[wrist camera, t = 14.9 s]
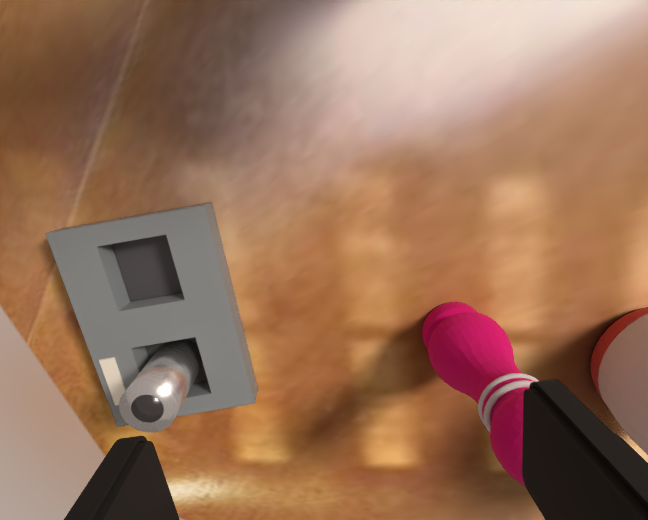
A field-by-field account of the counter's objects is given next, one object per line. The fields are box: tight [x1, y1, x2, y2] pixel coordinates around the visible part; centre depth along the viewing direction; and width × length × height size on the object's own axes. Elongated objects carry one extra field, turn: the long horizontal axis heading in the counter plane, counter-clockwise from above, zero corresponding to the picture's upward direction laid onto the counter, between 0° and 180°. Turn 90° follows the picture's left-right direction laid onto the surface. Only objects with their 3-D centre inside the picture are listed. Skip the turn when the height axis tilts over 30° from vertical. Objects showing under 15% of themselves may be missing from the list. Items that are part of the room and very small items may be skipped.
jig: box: [45, 202, 258, 427], centre depth 36 cm, size 20×14×3 cm
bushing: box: [119, 339, 203, 432], centre depth 35 cm, size 5×5×8 cm
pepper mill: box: [422, 302, 539, 485], centre depth 30 cm, size 7×7×20 cm
